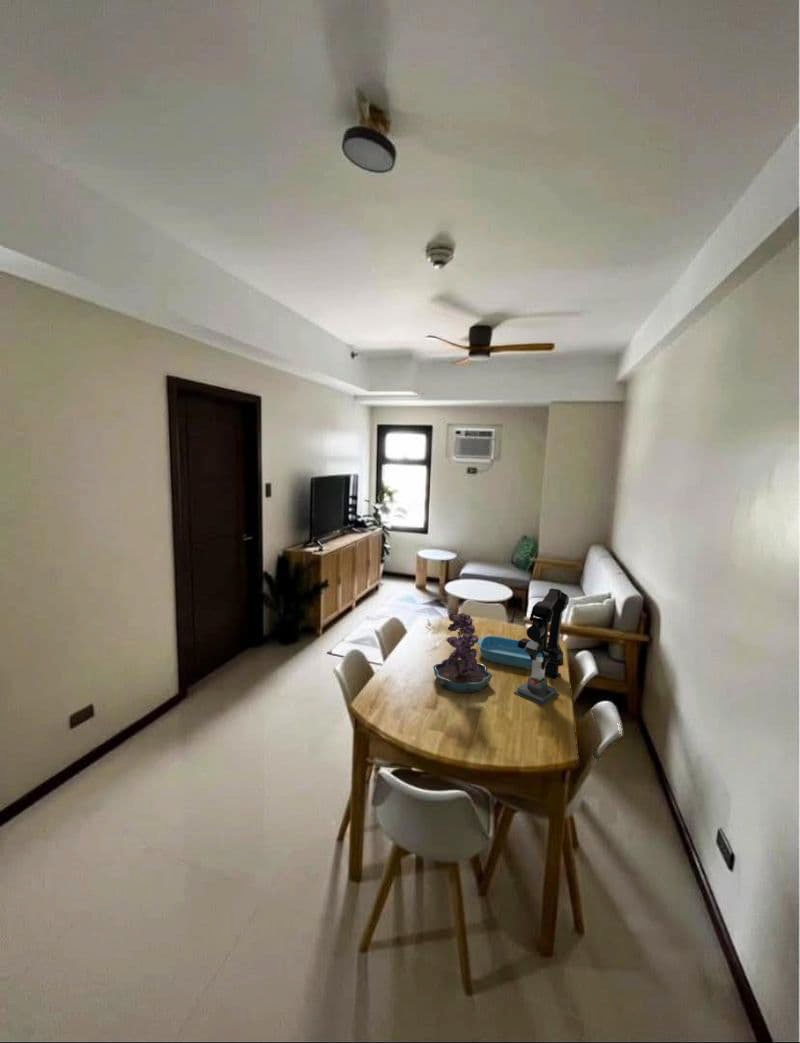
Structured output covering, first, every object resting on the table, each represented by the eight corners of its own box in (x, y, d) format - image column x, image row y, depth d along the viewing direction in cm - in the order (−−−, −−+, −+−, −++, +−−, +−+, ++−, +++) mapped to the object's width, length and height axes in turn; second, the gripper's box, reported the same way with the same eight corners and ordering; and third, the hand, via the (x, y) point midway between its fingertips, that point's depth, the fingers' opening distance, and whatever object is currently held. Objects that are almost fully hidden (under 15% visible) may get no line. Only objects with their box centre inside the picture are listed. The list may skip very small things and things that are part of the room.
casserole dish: (551, 657, 227) (552, 644, 226) (548, 676, 206) (549, 661, 206) (481, 645, 241) (481, 633, 240) (472, 661, 220) (472, 647, 219)
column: (535, 680, 191) (536, 656, 190) (544, 684, 189) (545, 660, 187) (530, 683, 189) (532, 659, 187) (539, 687, 186) (541, 662, 184)
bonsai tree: (438, 664, 215) (441, 600, 212) (494, 672, 208) (497, 607, 204) (421, 699, 182) (424, 624, 178) (487, 710, 174) (491, 633, 171)
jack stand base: (530, 682, 199) (531, 668, 198) (559, 694, 189) (560, 679, 188) (513, 692, 189) (514, 677, 188) (543, 705, 179) (545, 690, 178)
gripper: (511, 631, 187) (509, 665, 189) (552, 644, 174) (549, 681, 175) (524, 625, 195) (522, 658, 196) (565, 637, 181) (562, 673, 183)
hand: (538, 667), depth 188 cm, fingers closed on column, 4 cm apart
